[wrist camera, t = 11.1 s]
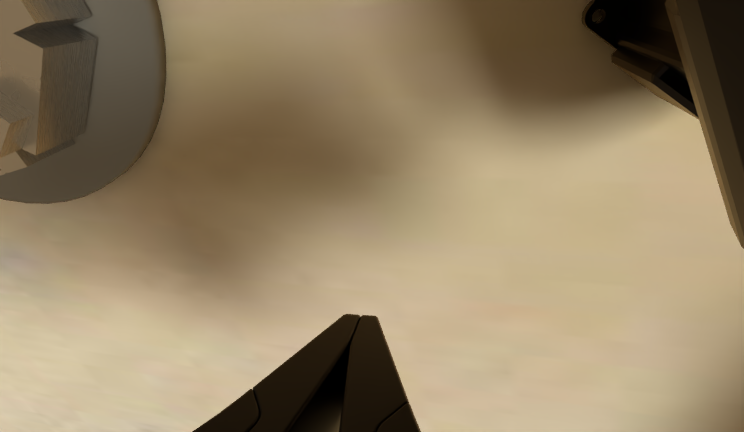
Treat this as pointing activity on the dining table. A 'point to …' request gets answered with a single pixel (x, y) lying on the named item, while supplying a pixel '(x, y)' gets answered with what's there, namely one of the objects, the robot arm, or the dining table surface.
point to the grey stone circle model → (105, 106)
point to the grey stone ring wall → (42, 79)
